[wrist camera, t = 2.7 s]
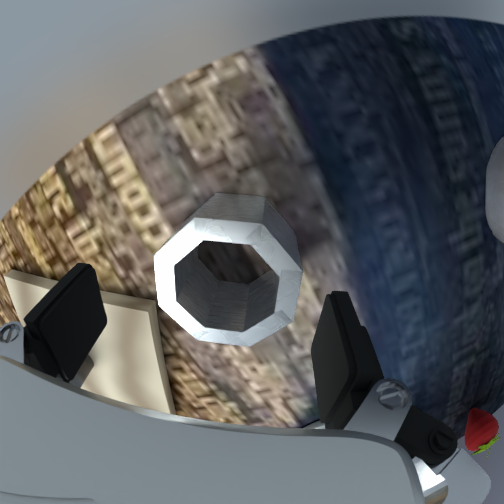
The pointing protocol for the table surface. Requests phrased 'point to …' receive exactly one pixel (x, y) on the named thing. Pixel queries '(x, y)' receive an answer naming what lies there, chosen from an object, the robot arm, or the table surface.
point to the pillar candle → (495, 191)
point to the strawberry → (480, 430)
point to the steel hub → (224, 292)
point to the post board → (112, 346)
